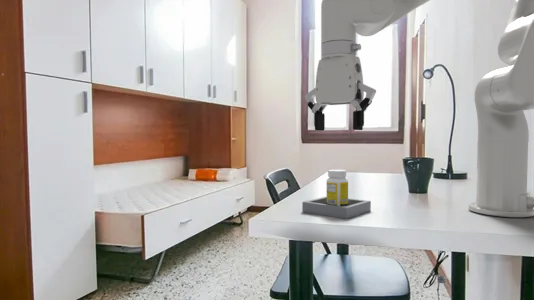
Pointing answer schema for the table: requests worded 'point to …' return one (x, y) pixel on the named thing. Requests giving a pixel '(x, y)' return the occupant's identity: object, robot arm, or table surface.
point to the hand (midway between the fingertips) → (338, 130)
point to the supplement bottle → (337, 188)
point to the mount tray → (336, 208)
